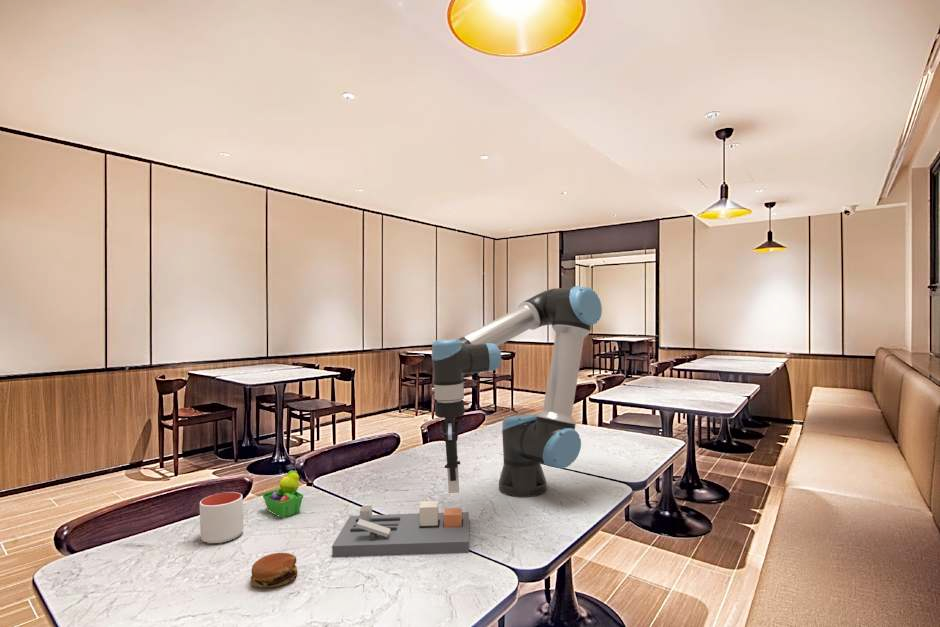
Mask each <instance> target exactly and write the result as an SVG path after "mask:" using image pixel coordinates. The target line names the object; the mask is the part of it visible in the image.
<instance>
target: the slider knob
mask: <svg viewBox="0 0 940 627" xmlns="http://www.w3.org/2000/svg"><path fill="white" fill-rule="evenodd" d="M359 515H360V519H362V520H365V521H368V522H371V523H372V515H373V506H372V505H362V506H361V508H360V510H359Z"/></svg>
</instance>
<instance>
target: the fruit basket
mask: <svg viewBox="0 0 940 627" xmlns="http://www.w3.org/2000/svg"><path fill="white" fill-rule="evenodd" d="M299 481H300V475H299V474H298V471H297V470H293V469H292V470H289V471H288V473H287V474H286V475H285V476H284V477H283V478H282V479H281V480H280V481H279V483H278V484H279V488H276V489H275V490H273V491H269V492H265V493H263V494H262V498H263V499H264V503H265V505H266V509H267V511H268V510H270V511H271V512H270V513H272V512H273V513H275V514H276V515H275V514H274V515H275V516H277V515H279V516H280V517H279V516H278V517H279V518H281V517H282V518H281V519H285V518H287V517H286V516H288V517H291V516H294V515H296V514H295V513H297V514H299V513H300V509H301V505H302V501H303V498H304V494H303V493H300V492H298V489H299V486H300V482H299ZM273 513H272V514H273ZM293 514H294V515H293ZM290 515H291V516H290ZM284 517H285V518H284Z"/></svg>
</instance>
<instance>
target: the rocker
mask: <svg viewBox="0 0 940 627" xmlns="http://www.w3.org/2000/svg"><path fill="white" fill-rule="evenodd" d="M356 527H358V528H361V529H364V530H367V531H370V532H373V533H376V534H379V535H382V536H385V537H388V535H389V532H390V528H387V527H383V526H380V525H377V524H374V523H371V522H368V521H365V520H362V519H359V521H358V522H357V525H356Z"/></svg>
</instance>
